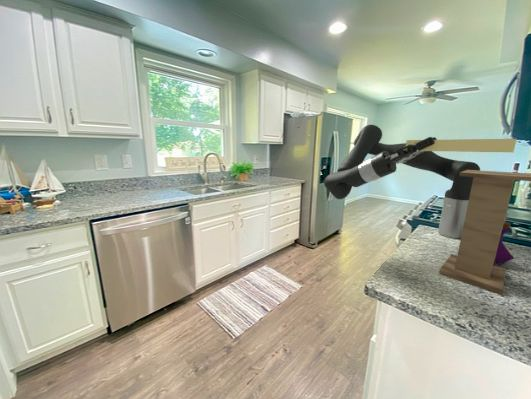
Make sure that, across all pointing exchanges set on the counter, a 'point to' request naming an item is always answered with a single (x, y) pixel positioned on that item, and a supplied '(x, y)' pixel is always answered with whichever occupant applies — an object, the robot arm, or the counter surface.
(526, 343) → the counter surface
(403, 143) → the robot arm
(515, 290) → the counter surface
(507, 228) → the perfume bottle
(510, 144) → the ochre bar
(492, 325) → the counter surface
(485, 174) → the walnut stand
